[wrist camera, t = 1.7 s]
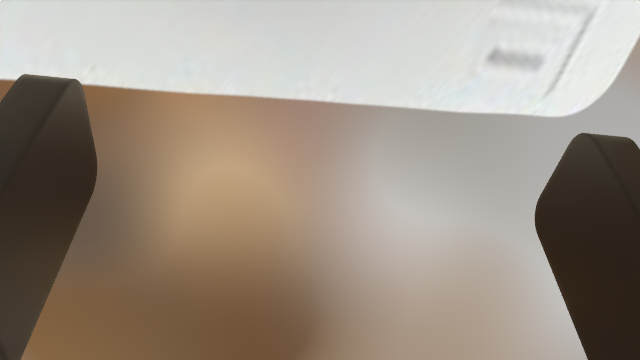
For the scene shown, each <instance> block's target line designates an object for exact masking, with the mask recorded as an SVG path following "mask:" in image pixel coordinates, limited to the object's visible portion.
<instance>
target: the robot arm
mask: <svg viewBox="0 0 640 360" xmlns="http://www.w3.org/2000/svg"><path fill="white" fill-rule="evenodd" d="M96 176H97V157H96V151H95V146H94V141H93V136H92V131H91V126H90V120H89V115H88V110H87V105H86V100H85V95H84V91H83V88H82V85H81V83H80V82H79V81H78V80H76V79H68V78H58V77H48V76H39V75H29V74H24V75H22V76H20V77H19V78H18V79H17V81H16V82H15V83H14V85H13V86H12V87H11V89H10V90H9V91H8V93H7V94H6V95H5V97H4V98H3V99H2V101H1V102H0V360H21V357H22V355H23V353H24V350H25V348H26V346H27V343H28V341H29V339H30V337H31V334H32V332H33V330H34V327H35V325H36V323H37V320H38V318H39V316H40V313H41V311H42V309H43V307H44V304H45V302H46V300H47V297H48V295H49V293H50V290H51V288H52V285H53V284H54V281H55V279H56V276H57V274H58V272H59V269H60V267H61V265H62V263H63V261H64V258H65V256H66V254H67V251H68V249H69V247H70V244H71V242H72V240H73V237H74V235H75V233H76V231H77V228H78V226H79V223H80V221H81V219H82V217H83V214H84V212H85V210H86V208H87V205H88V203H89V201H90V198H91V196H92V193H93V191H94V187H95V182H96ZM535 226H536V231H537V234H538V237H539V239H540V242H541V244H542V247H543V249H544V252H545V254H546V257H547V259H548V262H549V264H550V267H551V269H552V271H553V274H554V276H555V279H556V281H557V284H558V286H559V289H560V291H561V293H562V296H563V299H564V301H565V304H566V306H567V309H568V311H569V314H570V316H571V319H572V321H573V323H574V326H575V328H576V331H577V333H578V336H579V339H580V341H581V343H582V346H583V348H584V351H585V353H586V356H587V358H588V360H640V149H639V148H638V146H637V145H636V144H635V142H634V141H633V140H631V139H629V138H627V137H618V136H608V135H598V134H589V133H581V134H579V135H577V136H576V137H574V138H573V140H572V141H571V142H570V144H569V146H568V147H567V149H566V151H565V153H564V155H563V156H562V158H561V160H560V162H559V163H558V165H557V167H556V169H555V171H554V172H553V174H552V176H551V177H550V179H549V181H548V183H547V185H546V186H545V188H544V190H543V192H542V194H541V195H540V197H539V199H538V202H537V205H536V211H535Z"/></svg>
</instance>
